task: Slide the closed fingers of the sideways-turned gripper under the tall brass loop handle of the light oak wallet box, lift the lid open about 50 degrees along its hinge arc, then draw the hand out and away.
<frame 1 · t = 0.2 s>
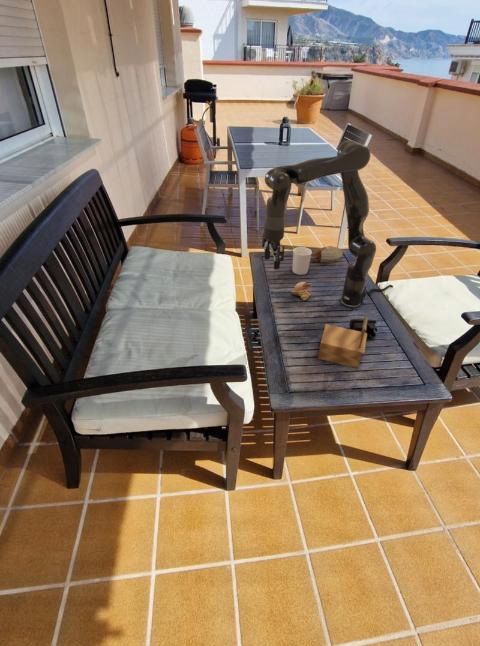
hand: (271, 263, 154), 29 cm above the table, tool pointing down, fingers open, 8 cm apart
nautilus: (322, 260, 222), on the table
candle holder: (299, 271, 210), on the table
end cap: (361, 334, 167), on the table
box lid: (346, 329, 149), point 12 cm above the table, hinge at 0.0°
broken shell: (300, 296, 189), on the table
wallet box: (339, 353, 156), on the table
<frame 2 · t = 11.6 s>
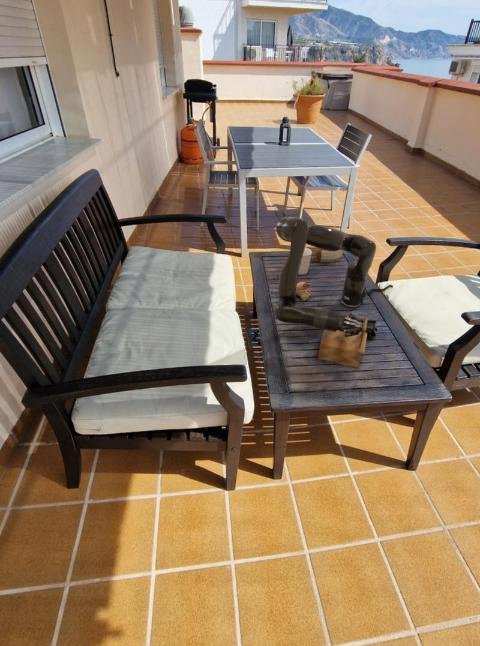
hand: (372, 330, 145), 15 cm above the table, tool horizontal, fingers closed
box lid: (346, 329, 149), point 12 cm above the table, hinge at 0.0°, touching gripper
everything else where it was.
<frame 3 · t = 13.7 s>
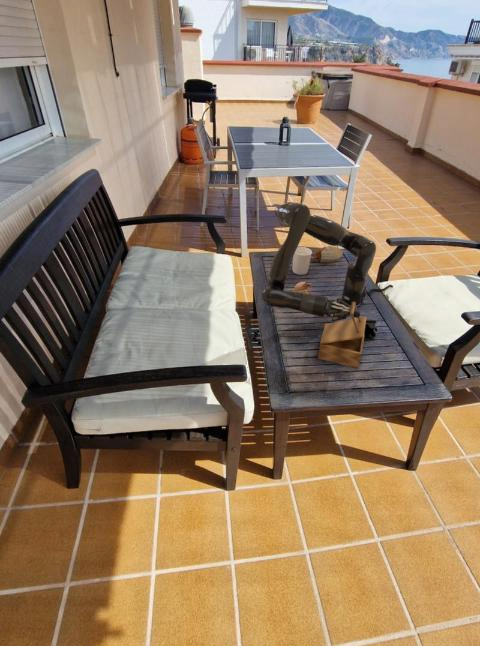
hand: (359, 314, 143), 20 cm above the table, tool horizontal, fingers closed
box lid: (339, 320, 147), point 15 cm above the table, hinge at 27.6°, touching gripper
everything else where it was.
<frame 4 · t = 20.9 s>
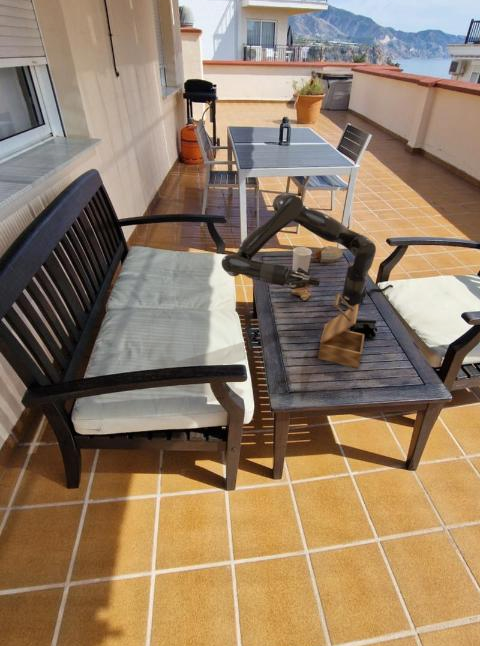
hand: (319, 282, 142), 30 cm above the table, tool horizontal, fingers closed
box lid: (331, 316, 147), point 17 cm above the table, hinge at 50.2°
everything else where it was.
at the end: box lid at +50° (first picture: +0°); the gripper is holding nothing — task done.
